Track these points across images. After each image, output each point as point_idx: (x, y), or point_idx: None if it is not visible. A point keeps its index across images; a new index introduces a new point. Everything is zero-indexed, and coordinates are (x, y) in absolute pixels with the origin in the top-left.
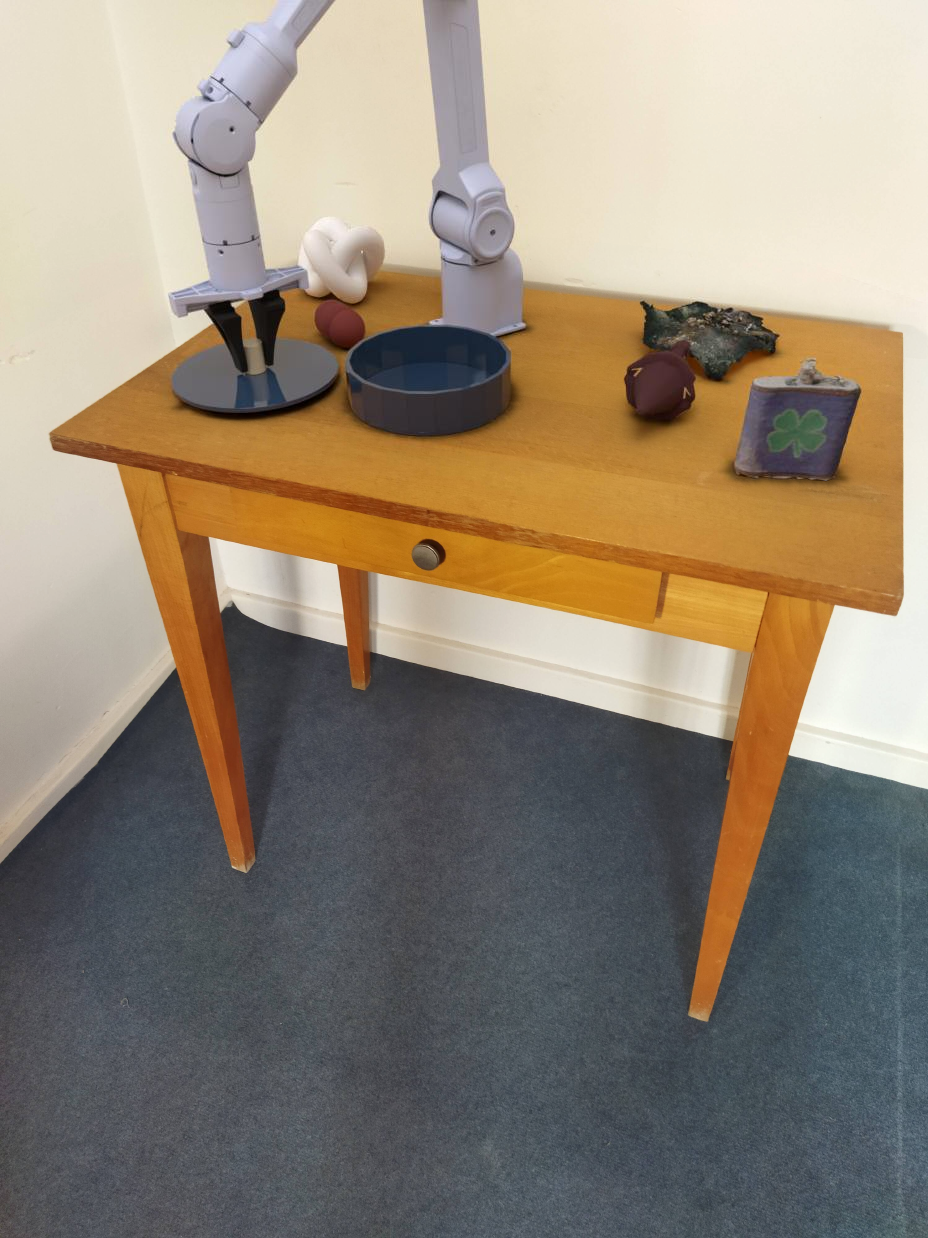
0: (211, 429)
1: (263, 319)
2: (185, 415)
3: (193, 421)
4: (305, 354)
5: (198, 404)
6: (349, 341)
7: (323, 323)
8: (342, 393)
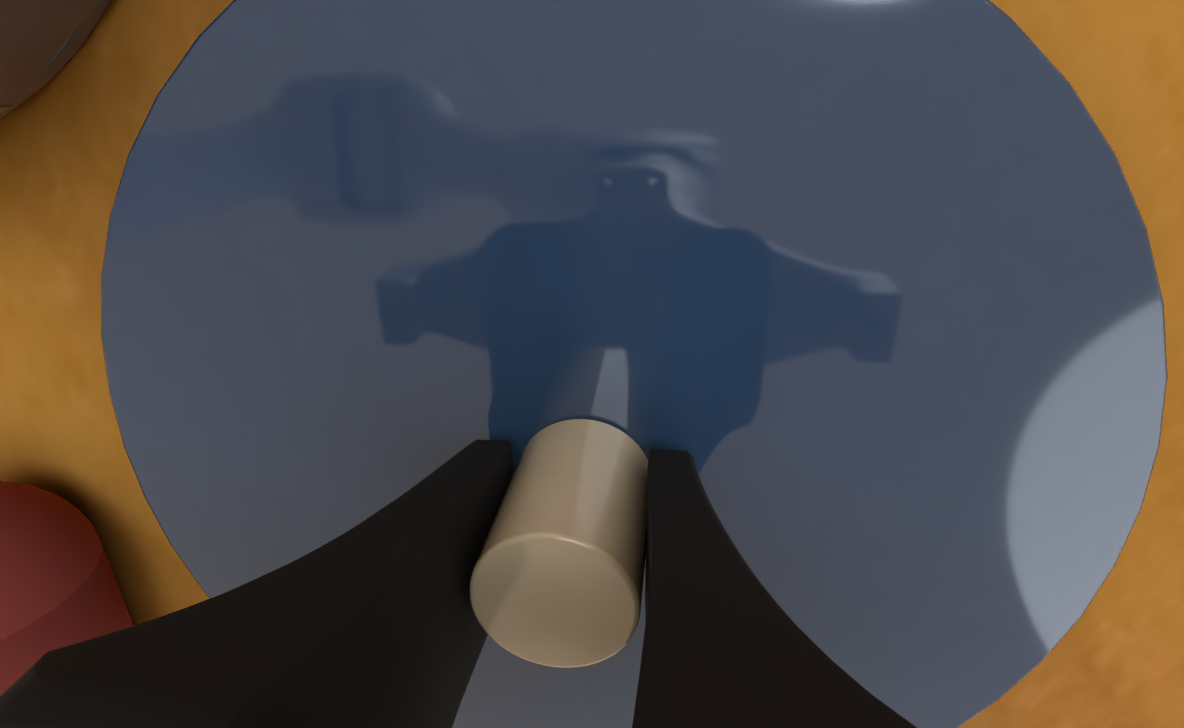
0: (1165, 9)
1: (359, 680)
2: None
3: (1173, 206)
4: (262, 487)
5: (1148, 256)
6: (7, 489)
7: None
8: (190, 9)
